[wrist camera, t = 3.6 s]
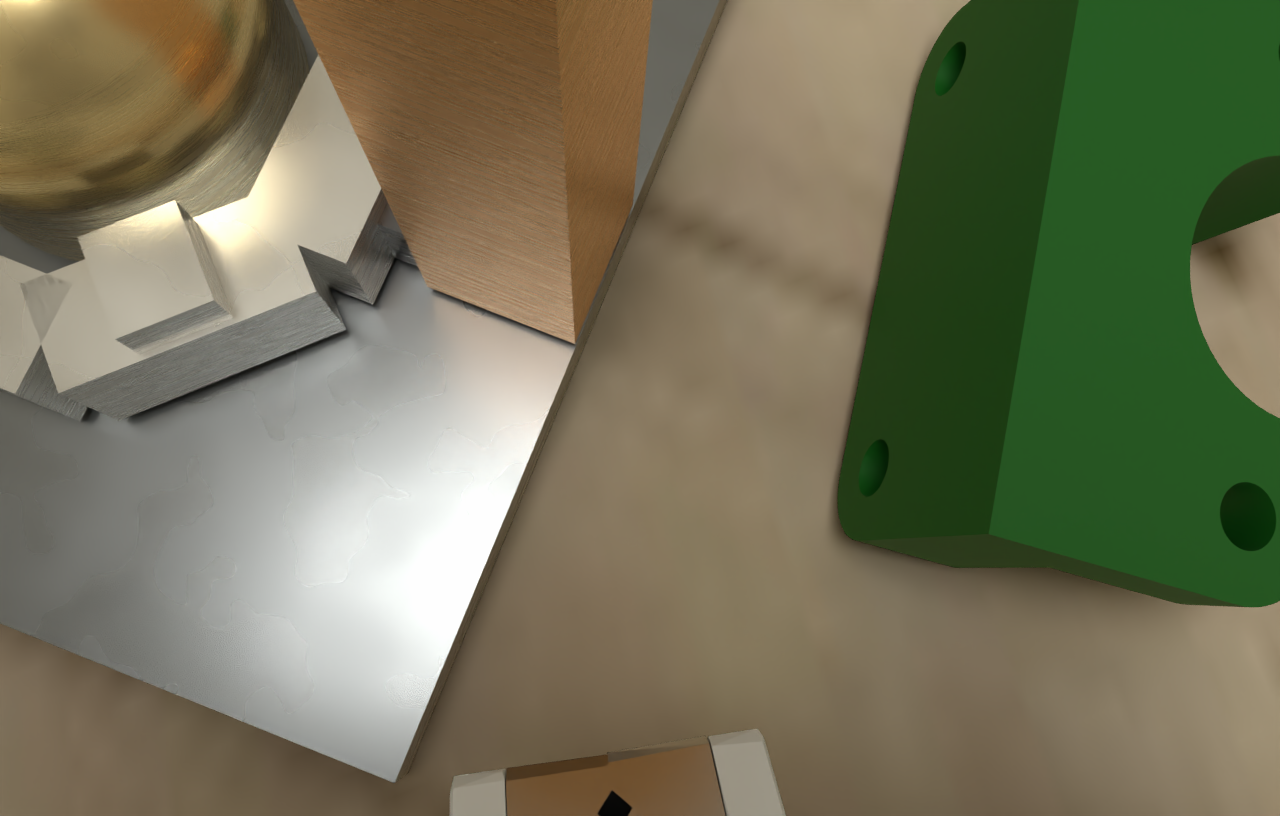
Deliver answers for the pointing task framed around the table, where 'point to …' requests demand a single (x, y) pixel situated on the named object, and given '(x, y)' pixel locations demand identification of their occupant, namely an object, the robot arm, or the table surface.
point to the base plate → (266, 399)
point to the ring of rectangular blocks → (363, 202)
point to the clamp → (1074, 302)
